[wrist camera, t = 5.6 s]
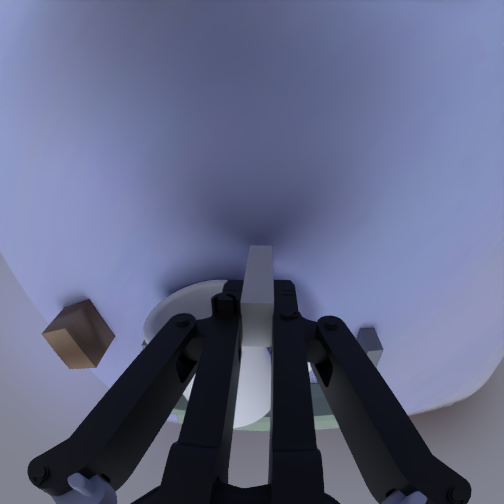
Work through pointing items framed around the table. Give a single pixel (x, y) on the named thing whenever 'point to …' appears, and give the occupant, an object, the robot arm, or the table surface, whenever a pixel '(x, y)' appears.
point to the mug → (253, 358)
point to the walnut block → (79, 335)
